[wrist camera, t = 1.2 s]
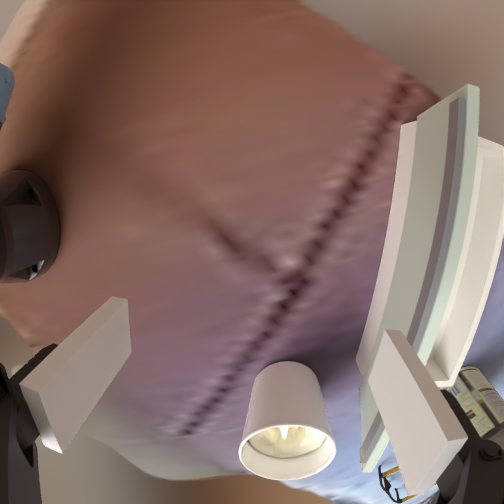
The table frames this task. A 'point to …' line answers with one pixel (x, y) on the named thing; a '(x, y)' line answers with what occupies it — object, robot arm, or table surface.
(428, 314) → the pale green rectangular panel
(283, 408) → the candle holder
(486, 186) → the duct channel
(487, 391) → the coffee can
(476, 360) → the table surface
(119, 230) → the table surface
